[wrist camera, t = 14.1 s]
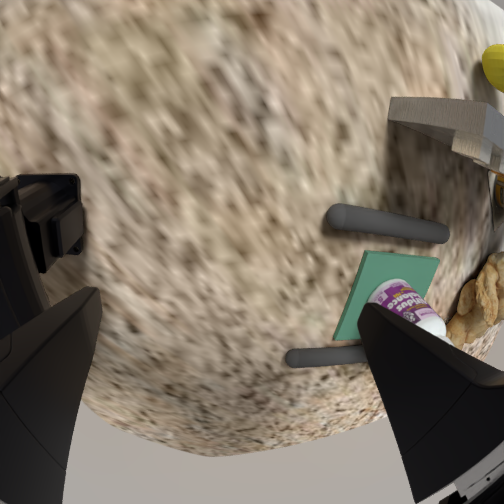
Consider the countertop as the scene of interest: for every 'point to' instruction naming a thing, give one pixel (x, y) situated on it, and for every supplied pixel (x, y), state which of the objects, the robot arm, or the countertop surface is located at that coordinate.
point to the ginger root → (479, 304)
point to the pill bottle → (409, 306)
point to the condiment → (497, 198)
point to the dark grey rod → (386, 224)
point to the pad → (375, 273)
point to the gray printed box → (456, 126)
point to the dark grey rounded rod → (325, 356)
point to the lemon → (494, 65)
